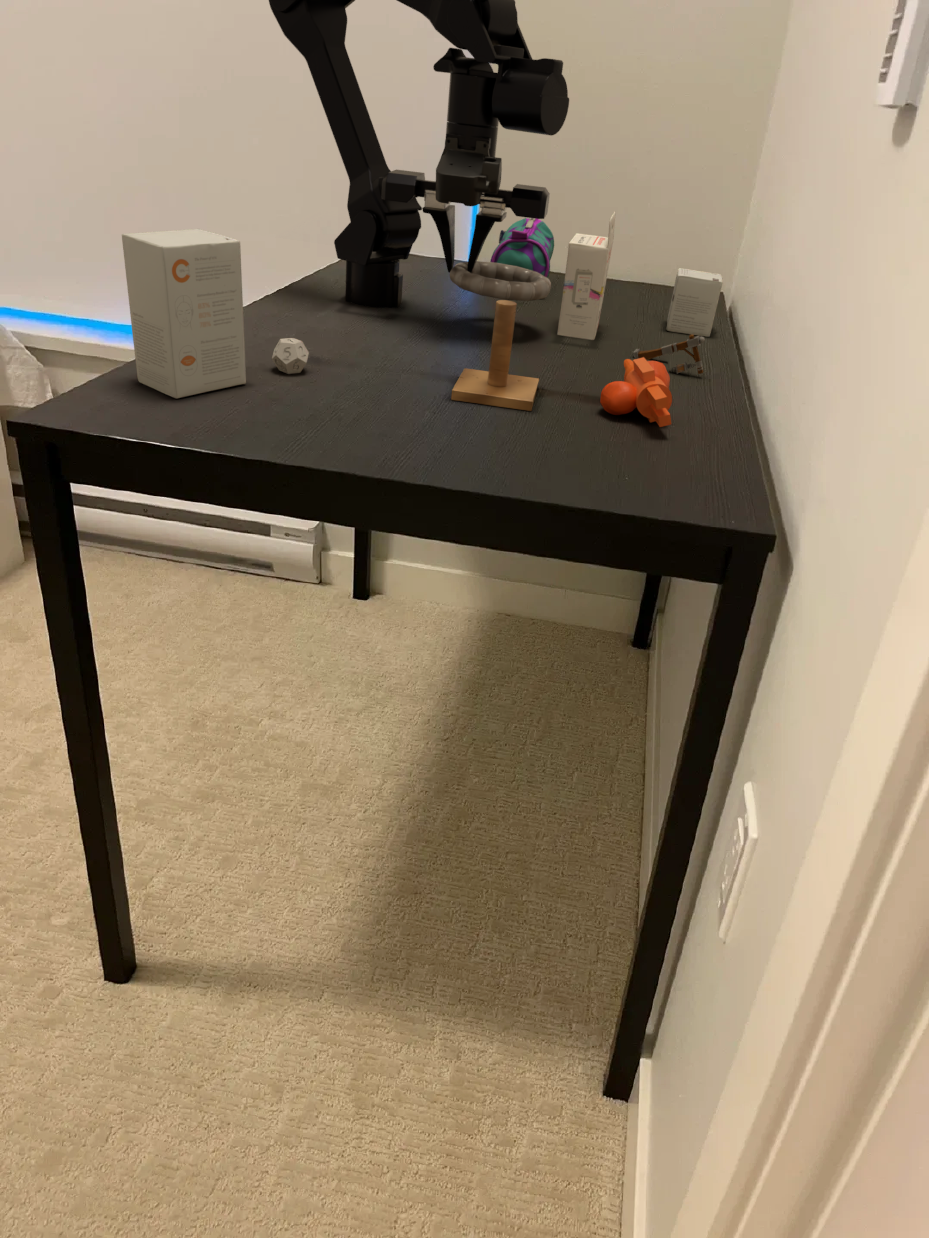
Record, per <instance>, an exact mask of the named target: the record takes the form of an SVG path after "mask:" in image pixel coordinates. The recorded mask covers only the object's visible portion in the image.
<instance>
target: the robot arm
mask: <svg viewBox="0 0 929 1238" xmlns="http://www.w3.org/2000/svg"><path fill="white" fill-rule="evenodd" d="M396 1H397V2H399V3H401V4H402V5H405V6H406V7H408V8H410V9H412V10H414V11H416V12H418V13H420V14H421V15H422V16H424V17H425V18H426V19H427V20H428V21H429V23H430V24H431V25H432V28H434V30H435V31H436V32H437V33H438V34H440V35H441V36H442V37H443V38H444V39H446V40H447V41H448V42H449V43H450V44H452V45H453V46H454V47H449V48H448V49H447V51H446V52H445V54H444V55H443V56H442V57H440V58H439V59H438V60H437V61H436V62H435V63H434V64H433V70H434V72H438V73H446V74H449V87H448V100H447V113H446V127H445V128H446V129H445V139H444V147H443V151H442V153H441V156H440V158H439V161H438V164H437V165H436V168H435V180H434V181H433V180H427V179H426V176H425V175H426V174H425V172H421V171H418V172H417V171H414V170H413V171H412V170H404V169H393V170H391V169H390V168H389V166H388V164H387V161H386V159H385V156H384V155H385V154H384V153H383V150H382V147H381V144H380V142H379V138H378V136H377V132H376V130H375V127H374V124H373V121H372V118H371V116H370V113H369V110H368V107H367V104H366V102H365V99H364V97H363V93H362V91H361V88H360V85H359V82H358V79H357V76H356V73H355V71H354V68H353V65H352V61H351V59H350V56H349V53H348V50H347V48H346V36H347V30H348V29H347V28H348V14H347V11H346V10H347V8H348V7H349V6H350V5H351V4H353V3H354V2H356V0H268V4H269V6H270V10H271V12H272V13H273V17H274V18H275V20H276V22H277V24H278V26H279V28H280V30H281V32H282V33H283V35H284V37H285V38H286V39H287V40H288V41H289V43H291V45H292V46H293V47H294V48H295V49H296V50H297V51H298V52H299V54H300V55H302V57H303V58H304V60H305V62H306V64H307V67H308V69H309V72H310V76H311V78H312V80H313V83H314V86H315V88H316V92H317V95H318V97H319V100H320V102H321V106H322V108H323V111H324V114H325V116H326V119H327V121H328V124H329V127H330V131H331V133H332V137H333V139H334V142H335V143H336V147H337V149H338V152H339V155H340V158H341V160H342V164H343V167H344V169H345V171H346V174H347V177H348V182H349V187H348V195H347V204H346V208H347V212H348V216H349V221H350V222H349V223H348V224H347V225H346V227H345V228H344V229H343V230H342V231H341V232H340V233H339V235H338V236H337V237H336V238H335V239H334V241H333V244H334V249H335V253H336V257H337V259H338V260H341V261H345V293H344V296H345V297H344V301H345V302H346V303H351V304H354V305H357V306H361V307H365V308H389V309H392V308H394V309H398V308H399V307H400V306H401V305H402V300H403V285H404V283H403V282H404V281H403V280H404V274H403V272H400V260H408V259H409V256H410V253H411V251H412V249H413V248H412V247H413V245H414V244H415V243H416V240H417V239H418V237H419V234H420V230H421V229H422V219H421V214H420V212H419V211H422V213H424V214H429V215H430V216H431V218H432V220H433V222H434V224H435V226H436V230H437V232H438V234H439V238H440V242H441V247H442V250H443V256H444V260H445V264H446V270H447V273H449V274H450V271H451V269H452V268H453V267H454V266H455V265H454V264H455V253H456V252H455V247H456V246H455V243H456V242H455V241H456V235H455V234H456V233H455V232H456V205H455V204H463V206H465V207H477V206H478V205H479V209H480V208H481V210H480V211H479V212H478V213H477V214H476V215H475V222H474V229H473V234H472V239H471V245H470V250H469V255H468V261H467V262H468V268H467V271H468V272H470V273H472V271H473V269H474V266H475V264H476V261H478V259H479V257H480V253H481V251H482V249H483V246H484V244H485V242H486V240H487V238H488V235H489V234H490V232H491V230H492V228H493V227H494V224H495V223H502V222H503V221H504V220H505V219H506V218H507V214H508V212H507V209H510V210H511V211H512V213H513V215H515V217H520V218H528V219H529V218H535V219H539V220H545V218H546V217H547V215H548V211H549V203H550V194H551V193H550V191H549V190H548V189H547V187H544V186H537V185H530V184H528V185H527V184H520V183H517V184H515V185H514V187H512V190H510V189H502V188H501V184H502V170H503V168H502V165H503V161H502V160H503V159H502V157H496V152H497V145H498V144H497V142H498V133H499V125H500V126H501V127H502V128H503V129H505V130H510V131H517V132H525V133H531V134H537V135H545V136H551V137H553V136H555V135H557V134H558V133H559V132H560V131H561V129H562V128H563V126H564V124H565V122H566V119H567V116H568V113H569V112H568V111H569V108H570V107H569V106H570V97H569V95H568V94H569V92H568V84H567V81H566V78H565V76H564V75H563V70H564V69H563V68H564V62H563V60H561V59H556V58H547V57H545V58H544V57H543V58H539V59H533V57H532V55H531V52H530V50H529V48H528V45H527V42H526V40H525V37H524V34H523V33H522V30H521V27H520V25H519V23H518V22H519V20H518V19H519V18H518V10H517V7H516V6H517V5H516V0H396ZM464 50H465V51H467V52H468V53H469V54H470V56H472V57H467V56H466V54H465V53H464ZM492 64H493V65H497V72H494V69H493V67H492ZM417 198H424V199H423V200H424V206H423V207H422V206H421V204H420V203H419V202H418V200H417ZM452 203H455V204H452Z"/></svg>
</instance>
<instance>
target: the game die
mask: <svg viewBox="0 0 929 1238" xmlns="http://www.w3.org/2000/svg"><path fill="white" fill-rule="evenodd" d="M309 353H310V351H309V350H308V349H307V347H306V346H305V343H304V342H303V340H300V339H297V338H294V337H284V338H279V340H278V342H277V344H276V345H275V347H274V349H273V353H272V357H271V360H272V362H273V363H274V365H275V367H276V368H277V370H278V371H280V372H283V373H285V374H288V375H291V374H300V373H301V372H302V371H303V369H304V368H305V366H306V365H307V362H308V358H309Z"/></svg>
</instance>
